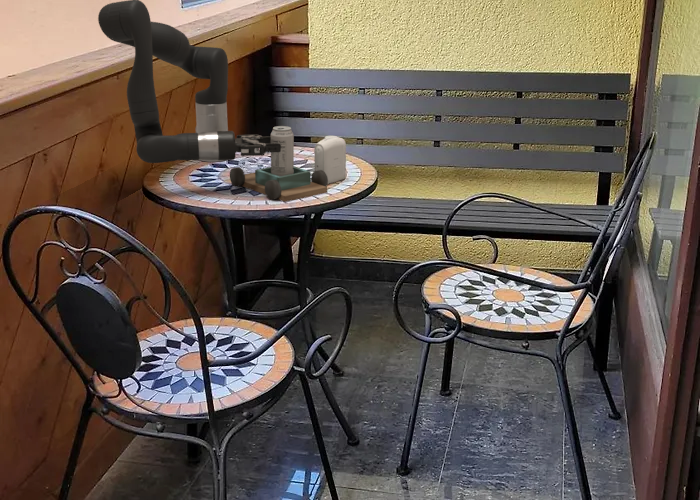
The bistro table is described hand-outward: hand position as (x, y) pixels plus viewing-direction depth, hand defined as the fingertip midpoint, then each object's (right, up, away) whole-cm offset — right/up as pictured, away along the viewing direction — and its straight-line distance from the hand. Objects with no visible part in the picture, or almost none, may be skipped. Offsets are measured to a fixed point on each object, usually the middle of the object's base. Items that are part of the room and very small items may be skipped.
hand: (278, 144), depth 213 cm
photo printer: (+13, -9, +13) cm, 20 cm away
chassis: (0, -11, +6) cm, 12 cm away
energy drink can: (+1, -10, +4) cm, 11 cm away
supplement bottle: (+13, -4, +25) cm, 29 cm away
